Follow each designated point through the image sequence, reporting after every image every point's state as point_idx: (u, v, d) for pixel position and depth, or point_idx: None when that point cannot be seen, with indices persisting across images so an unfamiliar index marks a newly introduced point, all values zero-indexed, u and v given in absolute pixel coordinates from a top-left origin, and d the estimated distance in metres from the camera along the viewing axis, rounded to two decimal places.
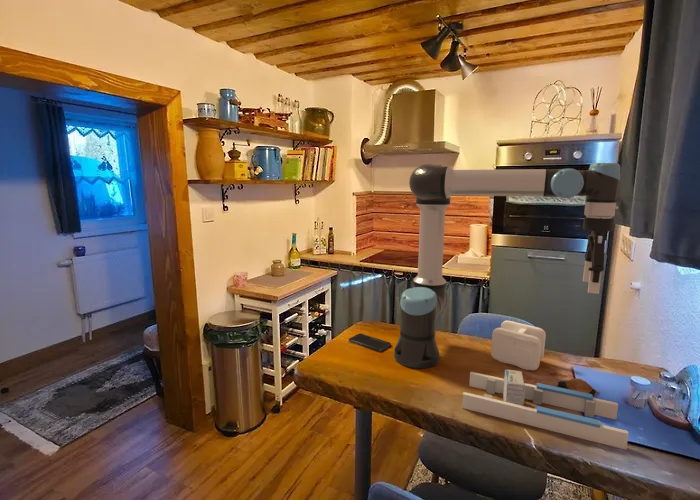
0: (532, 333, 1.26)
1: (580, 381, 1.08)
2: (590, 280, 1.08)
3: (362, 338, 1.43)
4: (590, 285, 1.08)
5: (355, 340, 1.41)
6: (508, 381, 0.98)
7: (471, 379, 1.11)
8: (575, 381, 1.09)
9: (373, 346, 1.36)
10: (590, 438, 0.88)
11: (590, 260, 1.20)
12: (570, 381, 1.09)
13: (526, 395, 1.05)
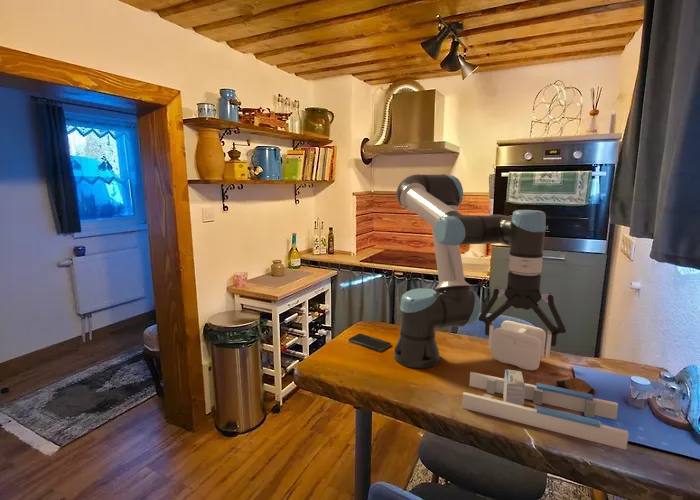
0: (532, 333, 1.26)
1: (579, 380, 1.09)
2: None
3: (362, 338, 1.43)
4: None
5: (355, 340, 1.41)
6: (508, 381, 0.98)
7: (471, 379, 1.11)
8: (574, 380, 1.09)
9: (373, 346, 1.36)
10: (590, 438, 0.88)
11: None
12: (569, 381, 1.10)
13: (526, 395, 1.05)
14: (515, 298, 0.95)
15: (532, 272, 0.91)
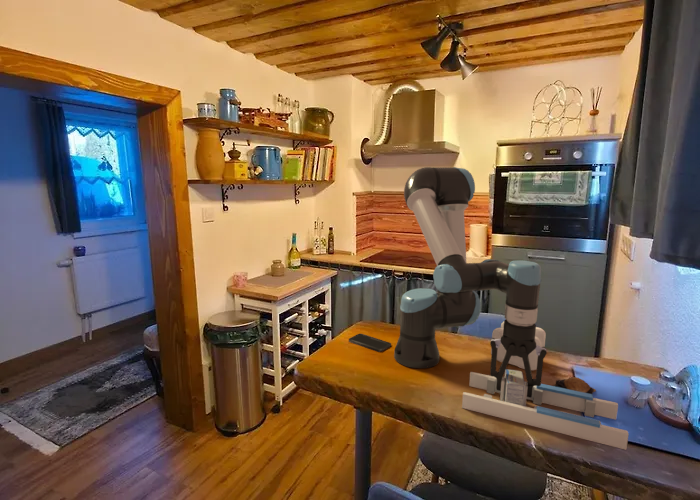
0: None
1: (578, 380, 1.09)
2: None
3: (362, 338, 1.43)
4: None
5: (355, 340, 1.41)
6: (508, 381, 0.98)
7: (471, 379, 1.11)
8: (573, 380, 1.09)
9: (373, 346, 1.36)
10: (590, 438, 0.88)
11: None
12: (568, 380, 1.10)
13: None
14: (511, 347, 0.97)
15: (527, 323, 0.93)
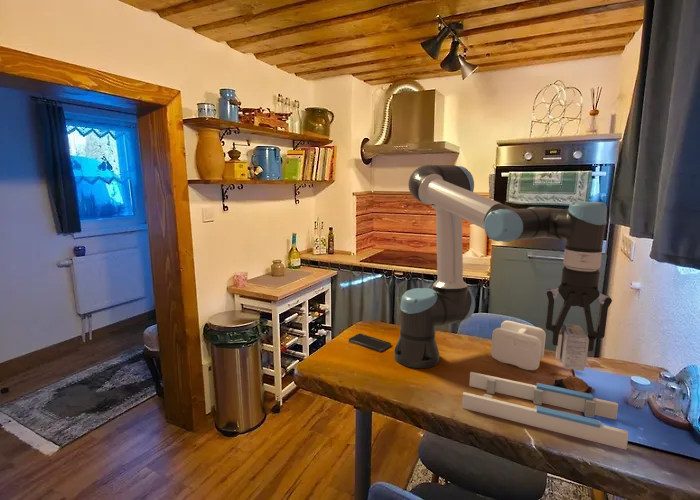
0: (532, 333, 1.26)
1: (577, 379, 1.09)
2: None
3: (362, 338, 1.43)
4: (556, 348, 0.95)
5: (355, 340, 1.41)
6: (568, 333, 0.90)
7: (471, 379, 1.11)
8: (572, 379, 1.10)
9: (373, 346, 1.36)
10: (590, 438, 0.88)
11: (589, 335, 0.91)
12: (567, 379, 1.10)
13: (526, 395, 1.05)
14: (571, 296, 0.89)
15: (592, 268, 0.85)
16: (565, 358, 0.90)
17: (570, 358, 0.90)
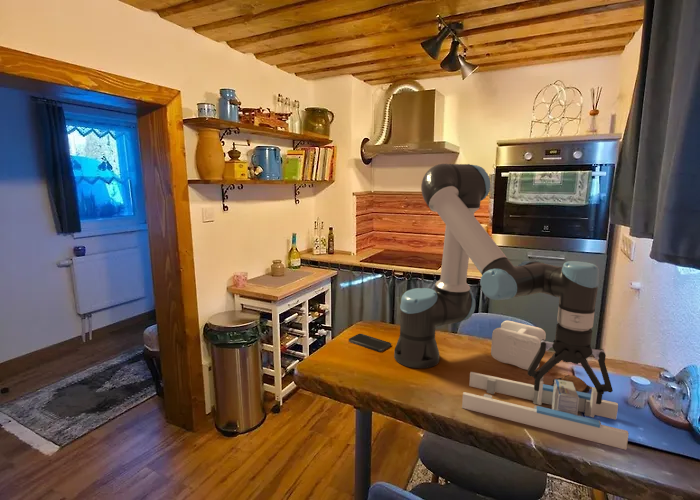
0: (532, 333, 1.26)
1: (575, 378, 1.10)
2: None
3: (362, 338, 1.43)
4: (538, 392, 0.99)
5: (355, 340, 1.41)
6: (560, 392, 0.93)
7: (471, 379, 1.11)
8: (570, 378, 1.10)
9: (373, 346, 1.36)
10: (590, 438, 0.88)
11: None
12: (565, 379, 1.11)
13: (526, 395, 1.05)
14: (564, 352, 0.92)
15: (584, 328, 0.88)
16: None
17: None
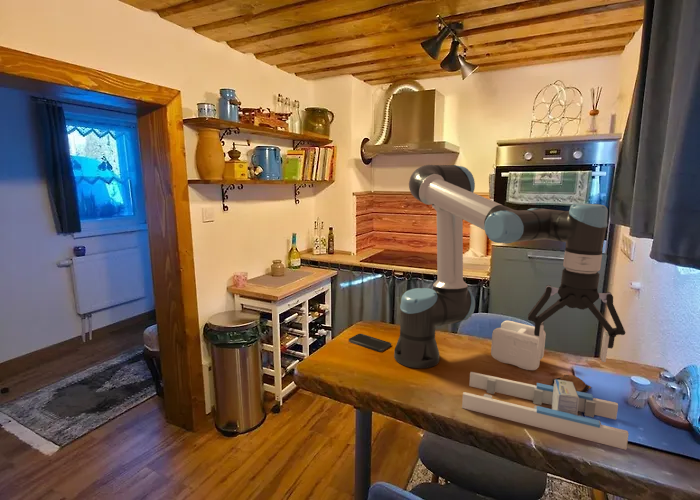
0: (532, 333, 1.26)
1: (574, 378, 1.10)
2: None
3: (362, 338, 1.43)
4: (538, 338, 0.97)
5: (355, 340, 1.41)
6: (560, 392, 0.93)
7: (471, 379, 1.11)
8: (569, 378, 1.10)
9: (373, 346, 1.36)
10: (590, 438, 0.88)
11: None
12: (565, 378, 1.11)
13: (526, 395, 1.05)
14: (570, 297, 0.89)
15: (591, 270, 0.85)
16: None
17: None
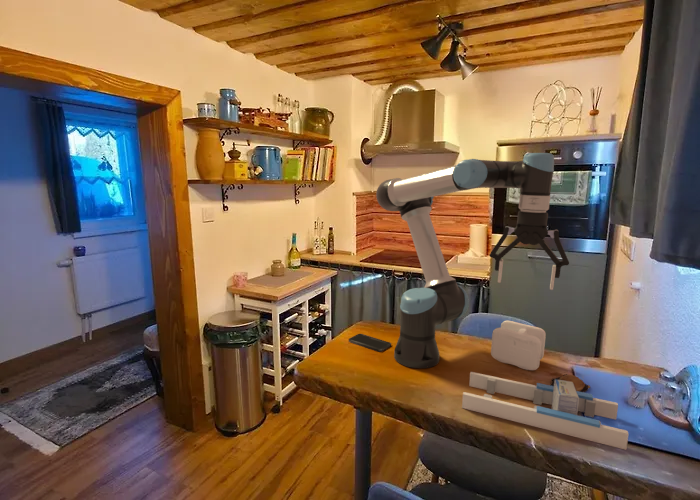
0: (532, 333, 1.26)
1: (573, 377, 1.10)
2: None
3: (362, 338, 1.43)
4: None
5: (355, 340, 1.41)
6: (560, 392, 0.93)
7: (471, 379, 1.11)
8: (569, 378, 1.10)
9: (373, 346, 1.36)
10: (590, 438, 0.88)
11: None
12: (564, 378, 1.11)
13: (526, 395, 1.05)
14: (524, 234, 1.04)
15: (540, 209, 1.00)
16: None
17: None
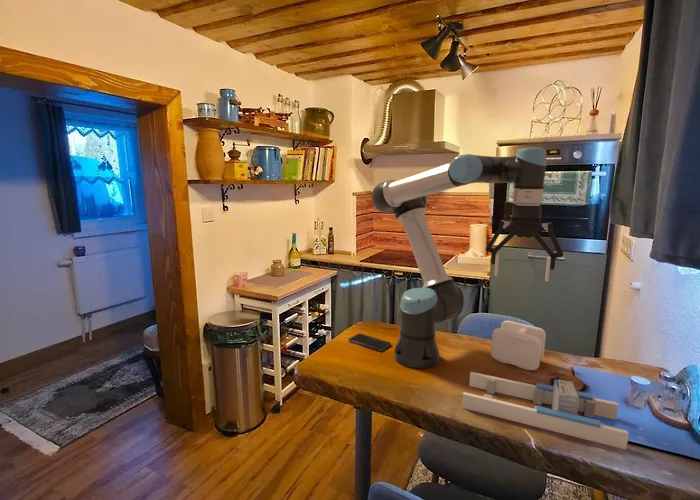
0: (532, 333, 1.26)
1: (573, 377, 1.11)
2: None
3: (362, 338, 1.43)
4: None
5: (355, 340, 1.41)
6: (560, 392, 0.93)
7: (471, 379, 1.11)
8: (568, 377, 1.11)
9: (373, 346, 1.36)
10: (590, 438, 0.88)
11: None
12: (563, 377, 1.11)
13: (526, 395, 1.05)
14: (518, 227, 1.07)
15: (534, 202, 1.03)
16: None
17: None
